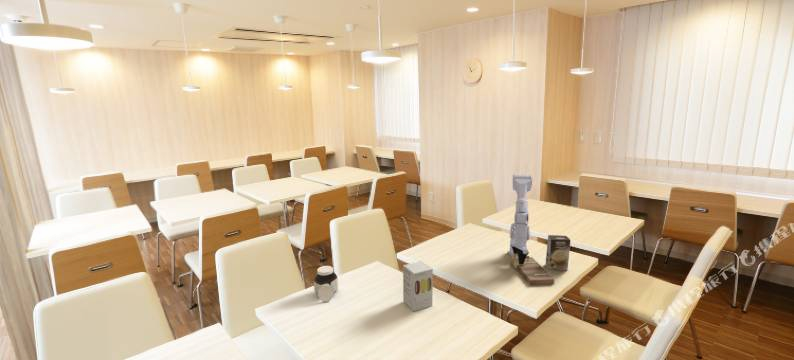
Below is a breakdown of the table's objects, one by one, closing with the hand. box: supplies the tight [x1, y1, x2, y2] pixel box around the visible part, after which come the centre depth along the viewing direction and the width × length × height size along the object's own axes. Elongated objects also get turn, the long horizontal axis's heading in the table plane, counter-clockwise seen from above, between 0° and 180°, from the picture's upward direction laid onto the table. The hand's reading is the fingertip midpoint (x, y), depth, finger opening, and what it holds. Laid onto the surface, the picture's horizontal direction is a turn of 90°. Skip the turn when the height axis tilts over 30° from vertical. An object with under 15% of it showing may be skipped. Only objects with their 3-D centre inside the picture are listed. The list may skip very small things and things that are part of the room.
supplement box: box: [402, 260, 434, 312], centre depth 158 cm, size 10×9×17 cm
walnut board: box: [510, 256, 555, 286], centre depth 184 cm, size 24×11×3 cm, turn 4°
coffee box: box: [545, 234, 572, 271], centre depth 188 cm, size 9×6×16 cm
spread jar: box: [313, 265, 339, 303], centre depth 166 cm, size 12×11×12 cm
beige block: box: [511, 253, 530, 269], centre depth 190 cm, size 5×8×6 cm, turn 94°
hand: (519, 261), depth 190 cm, fingers closed on beige block, 5 cm apart
